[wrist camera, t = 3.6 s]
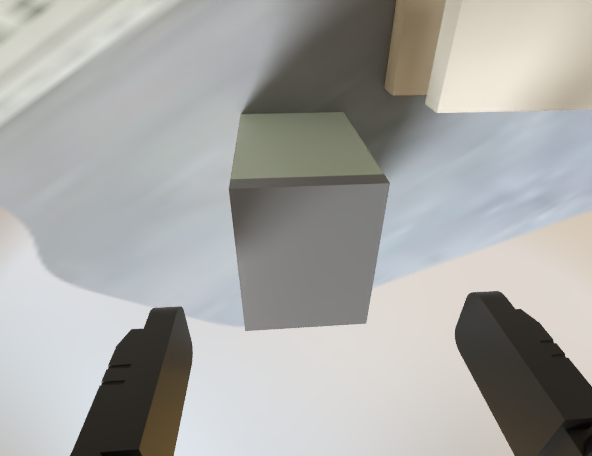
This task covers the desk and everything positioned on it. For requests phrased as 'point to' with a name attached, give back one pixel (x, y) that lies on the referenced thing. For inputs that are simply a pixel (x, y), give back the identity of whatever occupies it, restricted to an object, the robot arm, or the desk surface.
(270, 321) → the block
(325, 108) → the desk surface
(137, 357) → the robot arm
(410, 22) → the rail stand
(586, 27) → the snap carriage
